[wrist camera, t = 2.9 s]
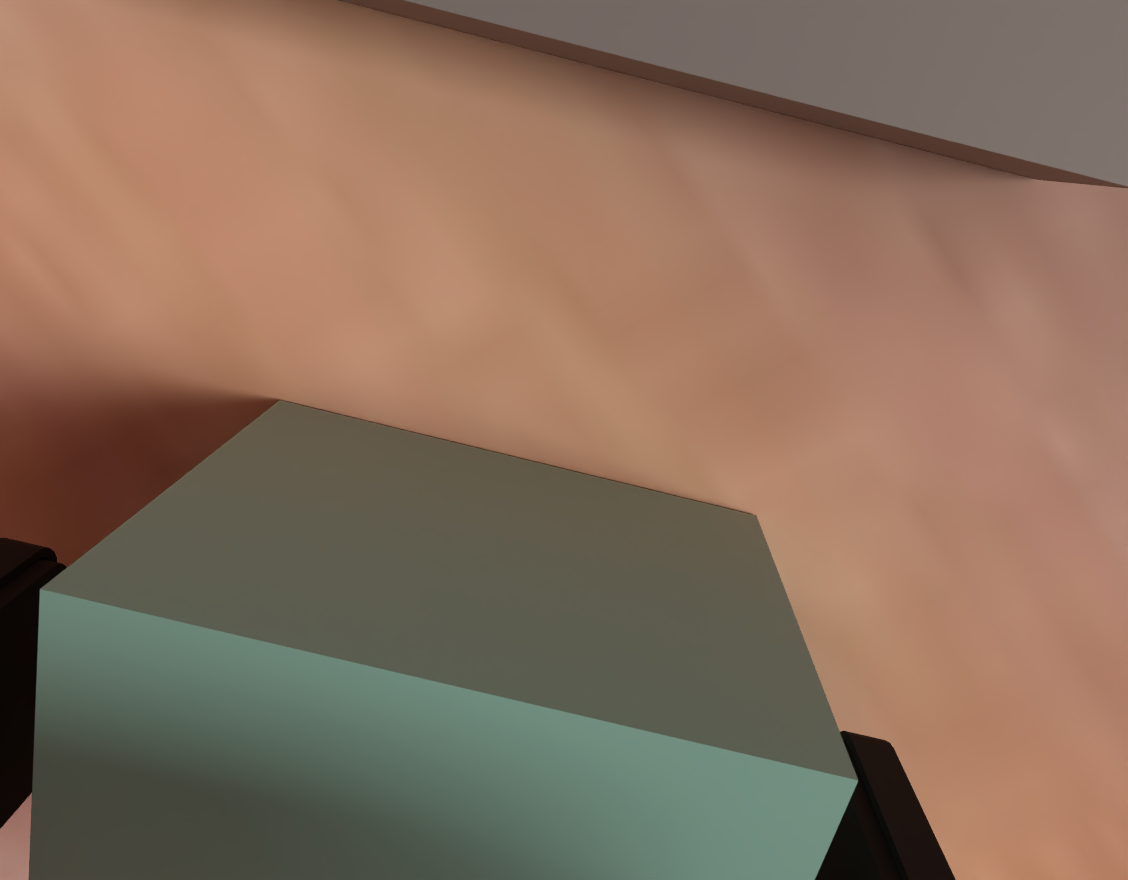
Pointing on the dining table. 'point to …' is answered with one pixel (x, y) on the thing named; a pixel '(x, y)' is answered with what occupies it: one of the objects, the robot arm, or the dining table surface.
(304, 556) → the seafoam cuboid
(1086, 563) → the dining table surface
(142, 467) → the dining table surface
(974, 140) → the post base
